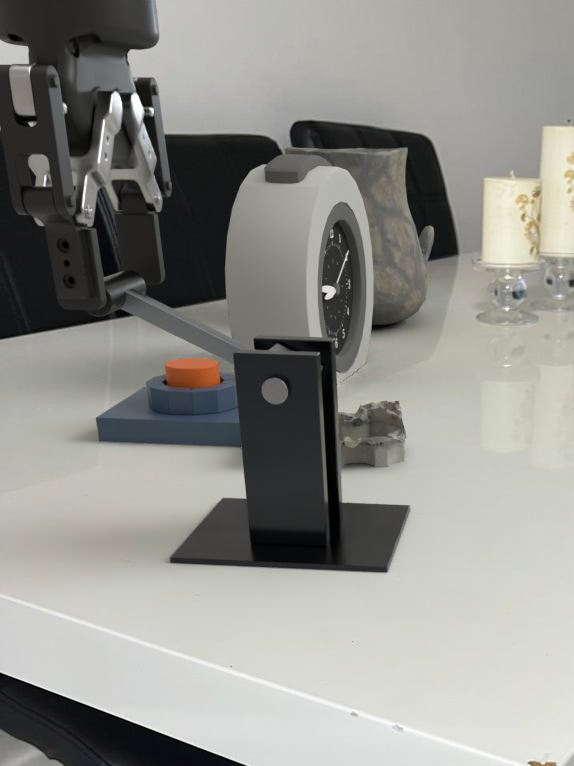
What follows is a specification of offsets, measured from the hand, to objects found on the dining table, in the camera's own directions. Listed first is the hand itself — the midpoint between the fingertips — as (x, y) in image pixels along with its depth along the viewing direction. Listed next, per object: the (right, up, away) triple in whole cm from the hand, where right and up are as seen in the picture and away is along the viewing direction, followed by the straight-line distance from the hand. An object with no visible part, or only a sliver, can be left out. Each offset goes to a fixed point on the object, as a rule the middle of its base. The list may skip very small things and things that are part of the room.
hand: (116, 295), depth 53 cm
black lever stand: (+9, -13, +6) cm, 17 cm away
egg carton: (+9, -6, +20) cm, 23 cm away
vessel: (+3, +22, +73) cm, 76 cm away
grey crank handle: (+4, -3, +1) cm, 5 cm away
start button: (-3, +1, +24) cm, 24 cm away
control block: (-3, -2, +26) cm, 26 cm away
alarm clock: (+3, +8, +46) cm, 47 cm away
